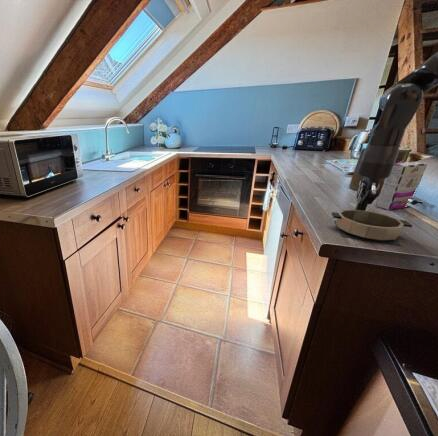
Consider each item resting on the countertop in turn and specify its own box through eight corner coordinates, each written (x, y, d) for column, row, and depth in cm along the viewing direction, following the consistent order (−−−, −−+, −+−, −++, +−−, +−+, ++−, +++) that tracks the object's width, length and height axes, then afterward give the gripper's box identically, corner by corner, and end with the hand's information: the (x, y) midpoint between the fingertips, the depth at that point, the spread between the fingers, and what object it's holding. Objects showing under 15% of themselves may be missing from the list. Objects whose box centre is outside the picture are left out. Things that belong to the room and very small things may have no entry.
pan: (392, 227, 75) (398, 214, 73) (415, 248, 63) (422, 232, 61) (324, 219, 82) (328, 206, 80) (333, 236, 70) (338, 222, 68)
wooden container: (394, 195, 104) (415, 142, 96) (351, 191, 112) (366, 141, 103) (386, 187, 116) (403, 139, 108) (347, 184, 123) (361, 138, 115)
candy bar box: (394, 203, 96) (411, 161, 89) (410, 207, 91) (429, 163, 85) (373, 206, 93) (389, 163, 87) (388, 210, 89) (406, 165, 82)
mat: (385, 227, 75) (385, 227, 75) (401, 246, 65) (401, 245, 65) (334, 220, 81) (334, 220, 81) (341, 236, 70) (341, 236, 70)
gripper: (403, 165, 65) (380, 223, 72) (386, 157, 76) (367, 209, 83) (367, 163, 68) (348, 219, 75) (356, 156, 79) (340, 205, 86)
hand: (358, 214), depth 79 cm, fingers closed
